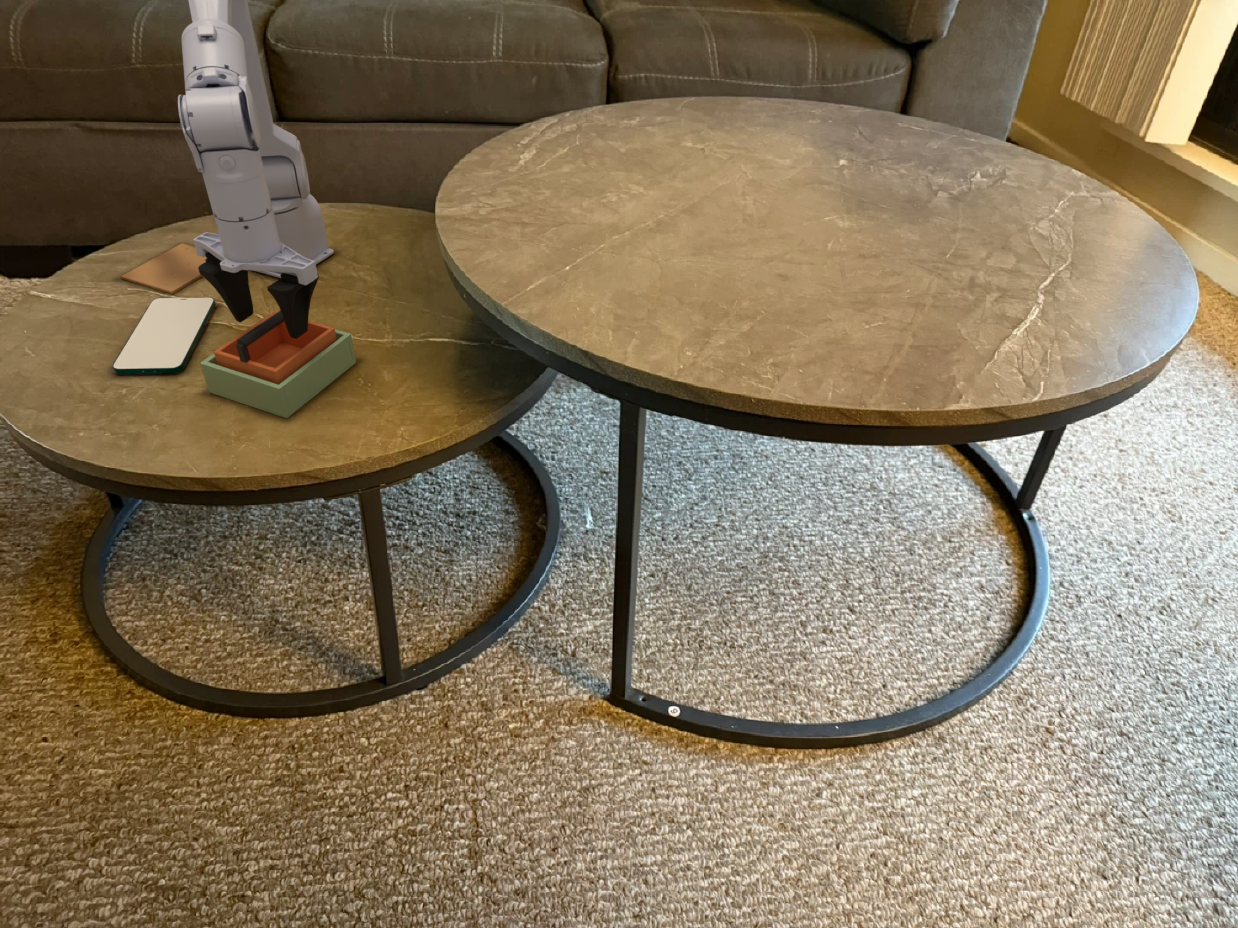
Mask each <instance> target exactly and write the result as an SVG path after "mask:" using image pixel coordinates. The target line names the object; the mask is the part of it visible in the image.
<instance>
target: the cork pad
mask: <svg viewBox="0 0 1238 928" xmlns="http://www.w3.org/2000/svg"><path fill="white" fill-rule="evenodd" d="M205 259H207V258H206V257H202V256H198V255H197V251H196V248H195V245H194V246H193V245H190V244H186V243H183V242H182V243H180V244H178V245H176V246H174V247H172V248H170V249H169V250H167V251H165V252H163V253H161V254H159V255H158V256H156V257H154V258H152V259H150V260H148V261H146V262H144V263H142V264H141V265H139V266H137V267H135V268H133V269H131V270H130V271H128V272H126V273H124V274H122V275H121V276H120V279H121V280H124V281H126V282H130V283H134V284H137V285H140V286H143V287H147V288H151V289H154V290H157V291H159V292H160V291H161V292H164V293H166V294H171V295H174V294H175V293H177V292H179V291H181V290H182V289H184V288H185V287H187V286H189V285H191V284H193V283H194V282H196V281H197V280H199V279H201V278H204V277H203V276H202V275H201V274H200V273H199V270H198V267H199V266H200V265H201V264H203V263H205V262H206V261H205Z"/></svg>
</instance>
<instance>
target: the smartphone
mask: <svg viewBox="0 0 1238 928" xmlns="http://www.w3.org/2000/svg"><path fill="white" fill-rule="evenodd" d="M216 306H217V304H216V300H215V298H214V297H211V296H188V297H187V296H186V297H185V296H184V297H183V296H182V297H181V296H180V297H175V296H174V297H173V296H172V297H157V298H154V299H152V300H151V301H150V303H149V304H148V305H147V308H146V310H145V311H144V313H143V315H142V316H141V318H140V319H139V321H138V323H136V325H135V327H134V329H133V331H132V333H131V334H130V336H129V337H128V339H127V340H126V342H125V344H124V345H123V347H122V348H121V351H120V352H119V354H118V355H117V357H116V358H115V360H114V361H113V363H112V369H113V372H114V373H115V374H116V375H169V374H170V375H173V374H178V373H181V372H182V371H184V369H185V368H186V366H187V364H188V362H189V360H190V358H191V356H192V354H193V353H194V350H195V348H196V346H197V344H198V342H199V340H200V338H201V336H202V334H203V332H204V330H205V328H206V327H207V324H208V322H209V321H210V319H211V317H212V314H213V313H214V311H215V308H216Z"/></svg>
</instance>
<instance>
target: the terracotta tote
mask: <svg viewBox="0 0 1238 928" xmlns="http://www.w3.org/2000/svg"><path fill="white" fill-rule="evenodd" d="M335 329H336V328H335V327H332V326H329V325H326V324H322V323H319V322H316V321H313V320H309V319H308V331H307V332H306V333H304V334H303V335H301V336H300V337H299V338H297V339H294V338H291V336H290V335H289V333H288V330H287V327H286V324H285V321H284V317H283V314H282V312H281V310H280V309H279V310H274V311H272V312H271V313H269V314H268V315H266V316H265V317H263V318H262V319H260V320H259V321H257V322H256V323H255V324H252V325H251V326H250V327H248V328H247V329H245V330H244V331H243V332H241V333H240V334H238V335H237V336H235V337H234V338H232V339H231V340H229V341H227V342H226V343H225V344H223V345H222V346H220V347H219V348H217V349H216V350H214V351H213V354H214V355H215V358H216V361H217V365H219V366H222V367H225V368H228V369H231V370H235V371H238V372H241V373H244V374H247V375H250V376H253V377H256V378H259V379H262V380H265V381H269V382H272V383H275V384H278V385H279V384H280V383H282V382H283V381H284V380H286V379H287V378H288V377H290V376H291V375H292V374H294V373H295V372H296V371H297V370H299V369H300V368H301V367H303V366H304V365H305V364H307V363H308V362H309V361H311V360H312V359H313V358H315V357H316V356H317V355H318V354H320V353H321V352H322V351H324V350H325V349H326V348H328V347H329V346H330V345H332V344H333V343H334V342H336V341H337V338H336V333H335Z"/></svg>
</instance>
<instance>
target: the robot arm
mask: <svg viewBox="0 0 1238 928" xmlns="http://www.w3.org/2000/svg"><path fill="white" fill-rule="evenodd" d="M187 2H188V6H189V11H190V16H191V23H190V24H188V25H187V26H186V27H185V28H184V30H183V31H182V33H181V39H180V40H181V52H182V62H183V63H182V64H183V79H184V92H185V94H178V96H177V109H178V110H177V111H178V116H179V122H180V126H181V130H182V133H183V136H184V139H185V141H186V143H187V145H188V148H189V150H190V152H191V154H192V157H193V161H194V163H195V167H196V169H197V172H198V173H201V174H202V180H203V182H204V185H205V189H206V193H207V197H208V200H209V203H210V207H211V211H212V215H213V218H214V222H215V225H216V226H215V227H216V230H217V232H218V233H213V232H208V231H206V232H204V233H202V234H199V235H197V236H196V237H194V238H193V239H192V242H193V244H194V247H195V248H196V251H197V255H198V256H202V257H206V258H207V259H205V261H206V262H205V263H203V264H201V265H200V266H199V267H198V270H199V273H200V274H201V275H202V276H203V277H202V278H204V279H205V280H206V281H207V282H208V283H210V285H211V286H212V287H213V288H214V289H215V291H216V292H217V293H218V295H219V296H220V297H221V298H222V300H223V301H224V303H225V305H226V307H227V308H228V310H229V312H230V314H231V315H232V317H233V318H234V320H235V321H236V322H238V323H243V322H244V321H245V320H247V319H248V318H250V317H251V316H253V315H254V303H253V298H252V293H251V288H250V282H249V280H250V279H249V271H253V272H256V273H257V272H258V273H261V274H263V275H267V276H272V277H274V278H279V279H278V280H276V281H274V282H273V283H271V284H270V285H268V286H267V287H266V289H267V292H268V293H269V294H270V295H271V296H272V297H273V299H274V300H275V302H276V304H277V306H278V307H279V311H280V310H281V312H282V314H283V317H284V321H285V324H286V327H287V330H288V333H289V335H290V336H291V338H294V339H297V338H299V337H300V336H301V335H303V334H304V333H306V332H307V331H308V320H309V316H310V315H309V314H310V306H311V301H312V298H313V294H314V292H315V288H316V285H317V284H318V281H319V279H320V276H319V272H318V269H317V265H318V264H319V263H321V262H323V261H324V260H326V259H327V258H329V257H331V256H332V255H333V254H334V253H335V251H334V250H335V249H333V248H329V243H328V238H327V232H326V227H325V222H324V217H323V212H322V209H321V206H320V203H318V201H317V199H316V198H315V197H314V195H312V194H311V187H310V181H309V174H308V167H307V164H306V159H305V155H304V153H303V150H302V146H301V141H300V140H298V136H296V135H294V134H293V133H291V132H290V131H287V130H286V129H284V128H282V127H280V126H278V125H277V124H276V123H274V120H273V115H272V110H271V106H270V100H269V96H268V91H267V88H266V82H265V77H264V73H263V68H262V64H261V60H260V55H259V50H258V45H257V41H256V37H255V32H254V27H253V21H252V18H251V13H250V8H249V1H248V0H187Z"/></svg>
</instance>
